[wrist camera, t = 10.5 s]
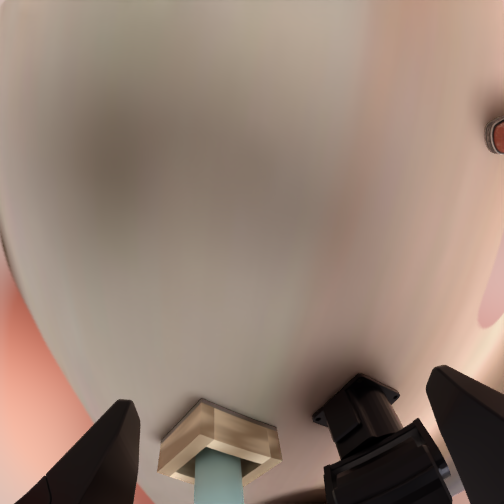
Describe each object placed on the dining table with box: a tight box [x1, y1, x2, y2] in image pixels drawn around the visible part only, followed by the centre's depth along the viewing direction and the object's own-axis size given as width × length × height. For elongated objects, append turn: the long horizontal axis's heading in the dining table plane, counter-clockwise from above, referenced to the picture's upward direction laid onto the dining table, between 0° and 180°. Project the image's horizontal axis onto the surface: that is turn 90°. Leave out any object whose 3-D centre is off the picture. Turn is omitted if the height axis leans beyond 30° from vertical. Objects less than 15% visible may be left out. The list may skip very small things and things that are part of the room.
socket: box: [157, 398, 282, 487], centre depth 25 cm, size 8×8×4 cm
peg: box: [194, 447, 244, 504], centre depth 22 cm, size 4×4×10 cm
